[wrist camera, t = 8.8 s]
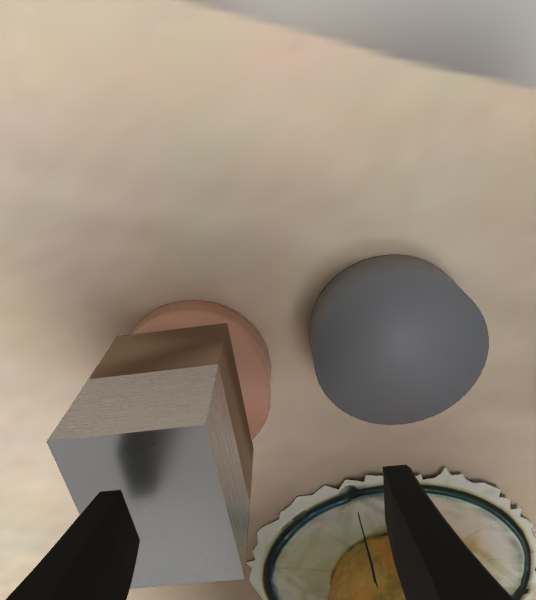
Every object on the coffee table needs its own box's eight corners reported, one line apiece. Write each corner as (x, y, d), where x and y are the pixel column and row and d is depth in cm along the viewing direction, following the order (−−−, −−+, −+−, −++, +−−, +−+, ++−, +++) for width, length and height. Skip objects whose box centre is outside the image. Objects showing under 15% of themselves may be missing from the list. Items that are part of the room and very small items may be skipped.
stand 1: (259, 291, 19) (257, 317, 17) (279, 417, 22) (279, 452, 20) (107, 309, 20) (85, 336, 18) (145, 430, 23) (131, 466, 21)
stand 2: (468, 245, 18) (495, 265, 16) (460, 382, 21) (482, 416, 19) (302, 265, 19) (305, 287, 17) (316, 397, 22) (321, 431, 19)
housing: (227, 322, 17) (205, 424, 12) (253, 448, 20) (245, 579, 14) (117, 336, 18) (46, 441, 12) (157, 458, 20) (113, 590, 15)
